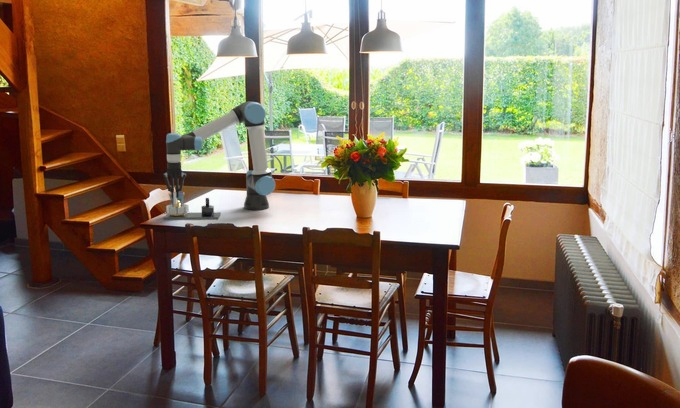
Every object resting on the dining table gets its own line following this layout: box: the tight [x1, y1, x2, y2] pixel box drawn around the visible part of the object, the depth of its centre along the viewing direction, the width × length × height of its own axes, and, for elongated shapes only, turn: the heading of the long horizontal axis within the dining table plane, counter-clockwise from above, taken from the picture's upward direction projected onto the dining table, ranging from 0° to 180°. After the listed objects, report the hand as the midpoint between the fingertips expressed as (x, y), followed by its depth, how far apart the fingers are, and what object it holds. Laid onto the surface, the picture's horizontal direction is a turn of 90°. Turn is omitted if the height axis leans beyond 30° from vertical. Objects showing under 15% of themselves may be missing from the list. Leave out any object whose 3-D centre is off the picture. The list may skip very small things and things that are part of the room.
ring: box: [165, 203, 190, 214], centre depth 382 cm, size 12×12×4 cm
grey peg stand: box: [163, 197, 222, 221], centre depth 382 cm, size 30×13×11 cm, turn 94°
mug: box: [167, 191, 186, 204], centre depth 401 cm, size 12×9×11 cm
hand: (175, 203), depth 377 cm, fingers closed
